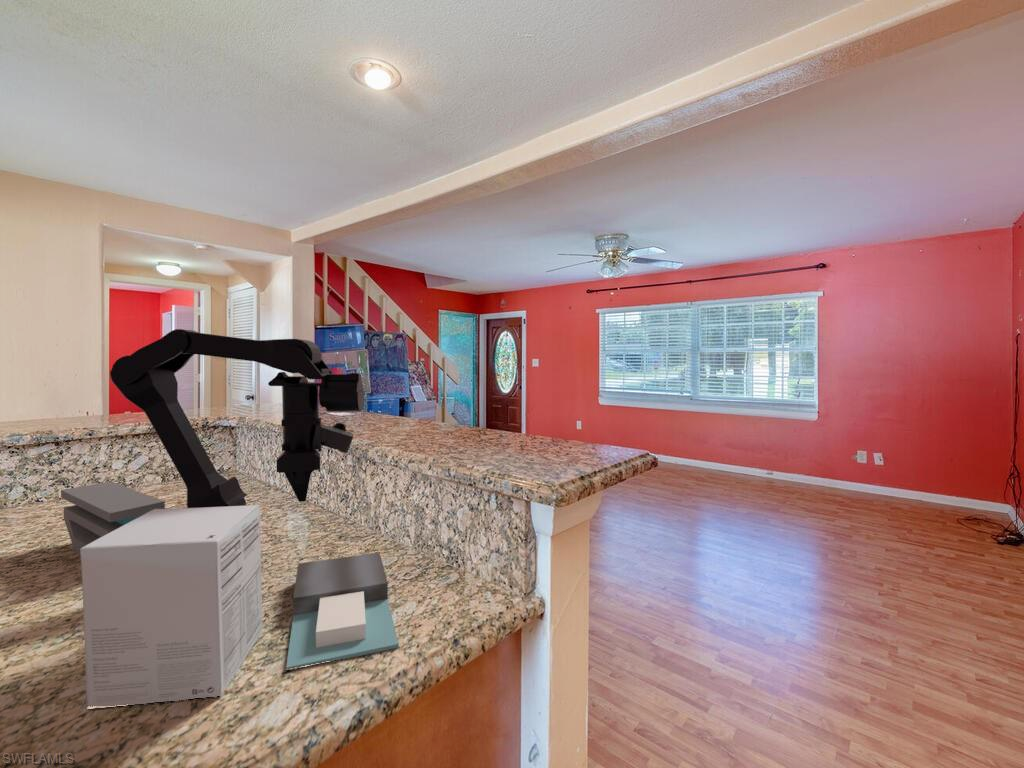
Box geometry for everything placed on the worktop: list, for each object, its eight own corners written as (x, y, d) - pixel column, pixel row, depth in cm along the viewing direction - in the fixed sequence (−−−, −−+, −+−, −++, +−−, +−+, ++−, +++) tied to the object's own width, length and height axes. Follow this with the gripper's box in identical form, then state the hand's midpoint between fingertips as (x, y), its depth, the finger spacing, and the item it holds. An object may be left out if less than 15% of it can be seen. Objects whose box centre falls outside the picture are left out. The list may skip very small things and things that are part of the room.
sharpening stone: (166, 560, 85) (164, 501, 85) (112, 576, 79) (110, 513, 78) (113, 532, 99) (111, 481, 98) (63, 544, 92) (60, 489, 91)
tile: (316, 647, 59) (315, 632, 59) (320, 611, 67) (320, 597, 67) (365, 638, 61) (365, 623, 61) (363, 604, 69) (363, 591, 69)
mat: (286, 671, 55) (286, 667, 55) (293, 618, 66) (293, 615, 66) (398, 647, 60) (398, 643, 60) (387, 602, 71) (387, 598, 71)
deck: (293, 618, 66) (293, 598, 66) (298, 581, 77) (298, 563, 77) (387, 602, 71) (387, 582, 71) (379, 568, 82) (379, 552, 82)
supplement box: (265, 629, 64) (263, 503, 63) (221, 699, 51) (217, 540, 50) (157, 638, 61) (153, 507, 61) (82, 713, 48) (76, 547, 48)
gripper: (352, 416, 75) (353, 512, 76) (348, 405, 92) (349, 483, 93) (275, 419, 71) (277, 520, 72) (285, 407, 88) (287, 488, 89)
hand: (302, 501), depth 82 cm, fingers closed
